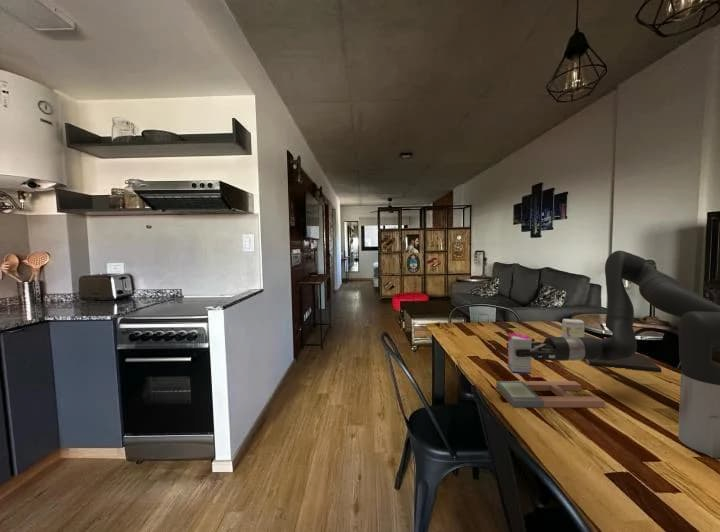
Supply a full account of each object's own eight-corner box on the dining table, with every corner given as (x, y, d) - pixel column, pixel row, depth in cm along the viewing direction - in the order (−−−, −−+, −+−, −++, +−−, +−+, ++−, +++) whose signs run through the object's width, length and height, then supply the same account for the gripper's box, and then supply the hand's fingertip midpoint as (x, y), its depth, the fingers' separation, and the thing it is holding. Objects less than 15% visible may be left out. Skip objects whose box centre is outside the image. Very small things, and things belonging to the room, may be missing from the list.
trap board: (604, 407, 95) (604, 400, 95) (514, 407, 96) (514, 400, 96) (575, 386, 109) (575, 380, 109) (496, 386, 110) (496, 380, 110)
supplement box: (531, 374, 99) (532, 339, 98) (511, 373, 100) (511, 338, 100) (526, 367, 105) (526, 333, 104) (507, 366, 106) (507, 333, 105)
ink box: (563, 344, 154) (564, 320, 153) (561, 341, 158) (561, 318, 158) (584, 346, 151) (584, 322, 150) (581, 343, 155) (582, 319, 154)
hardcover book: (578, 353, 142) (578, 348, 142) (641, 359, 134) (641, 354, 134) (589, 366, 127) (589, 361, 127) (661, 373, 119) (661, 368, 119)
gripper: (551, 331, 108) (502, 332, 109) (578, 344, 94) (521, 345, 95) (551, 352, 109) (502, 353, 110) (578, 368, 95) (521, 369, 95)
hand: (511, 349), depth 102 cm, fingers closed on supplement box, 6 cm apart
